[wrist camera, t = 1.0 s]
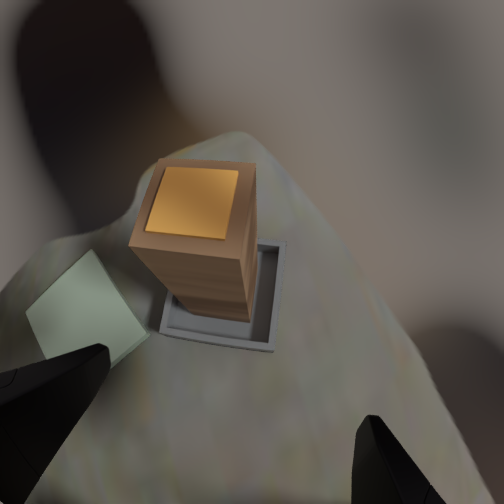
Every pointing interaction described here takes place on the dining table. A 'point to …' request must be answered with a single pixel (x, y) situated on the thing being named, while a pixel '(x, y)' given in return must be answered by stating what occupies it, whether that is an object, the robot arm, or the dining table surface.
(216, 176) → the walnut box
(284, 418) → the dining table surface
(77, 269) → the sage pad
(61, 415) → the robot arm
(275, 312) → the grey square tray
